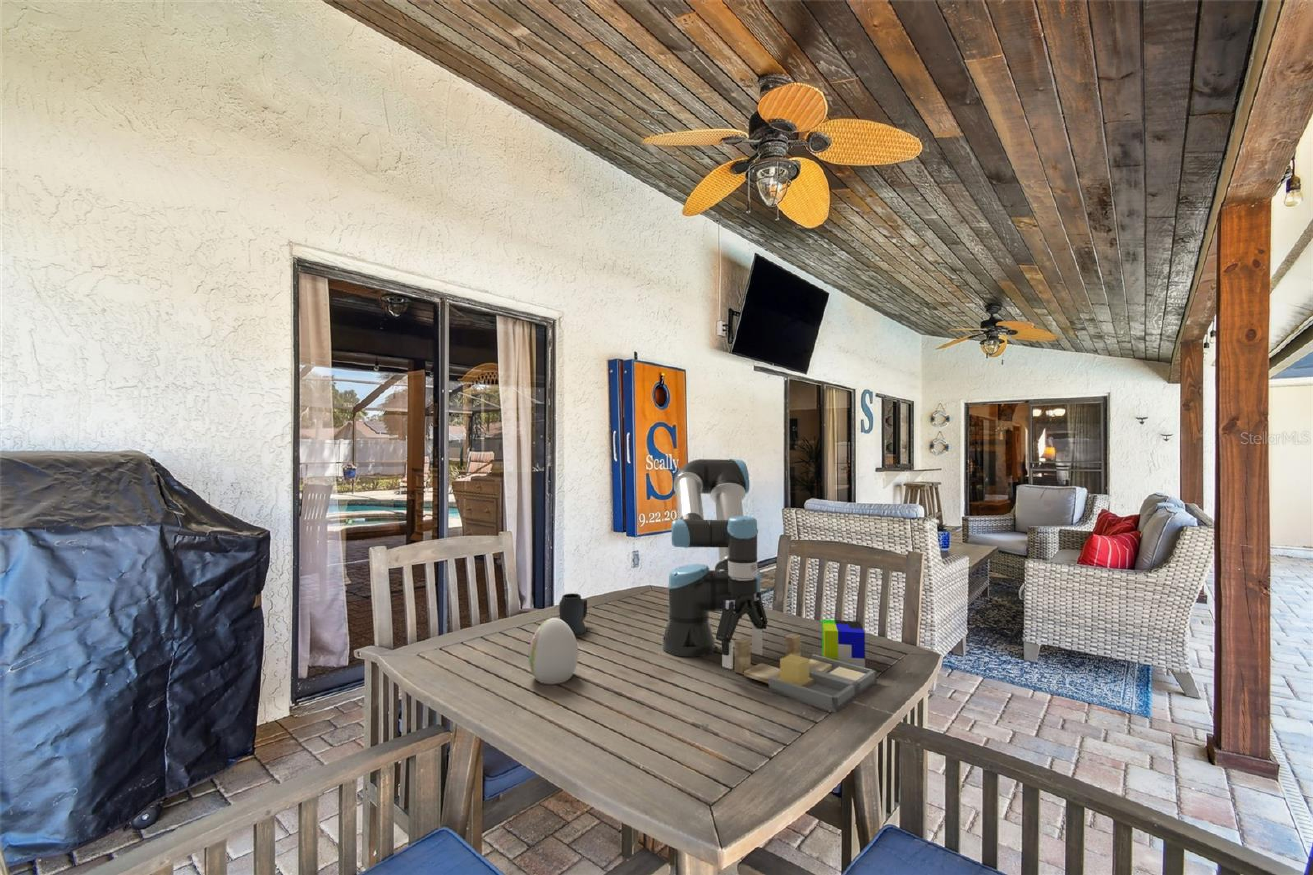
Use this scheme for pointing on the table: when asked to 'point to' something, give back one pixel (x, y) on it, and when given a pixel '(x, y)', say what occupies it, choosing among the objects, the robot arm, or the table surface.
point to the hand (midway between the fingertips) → (742, 660)
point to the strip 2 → (795, 648)
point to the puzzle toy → (843, 641)
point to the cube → (794, 669)
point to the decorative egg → (553, 652)
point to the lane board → (828, 685)
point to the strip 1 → (758, 671)
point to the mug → (573, 612)
